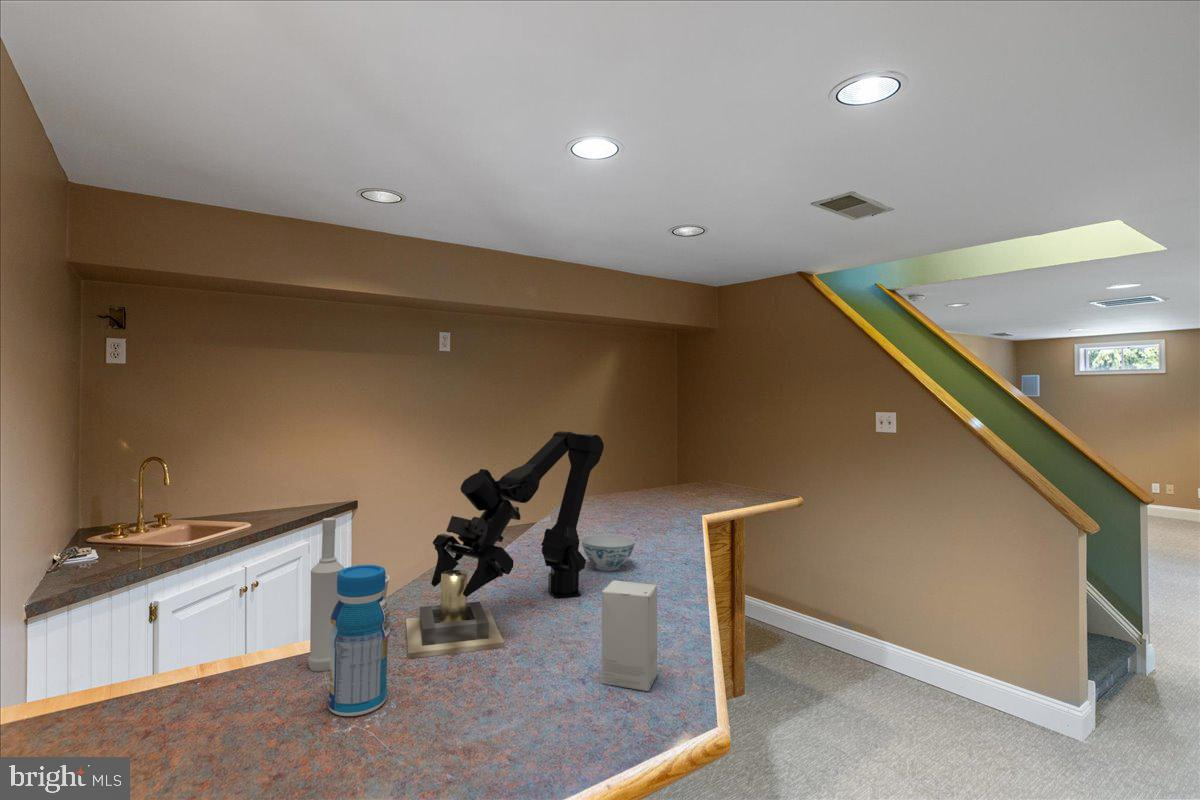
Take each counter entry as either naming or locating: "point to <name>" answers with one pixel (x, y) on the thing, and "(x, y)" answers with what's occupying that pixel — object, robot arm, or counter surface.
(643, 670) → the skincare box
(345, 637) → the beverage bottle
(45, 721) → the counter surface
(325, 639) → the bottle
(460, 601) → the cylinder
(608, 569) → the chinaware
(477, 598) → the counter surface
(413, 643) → the jig plate
